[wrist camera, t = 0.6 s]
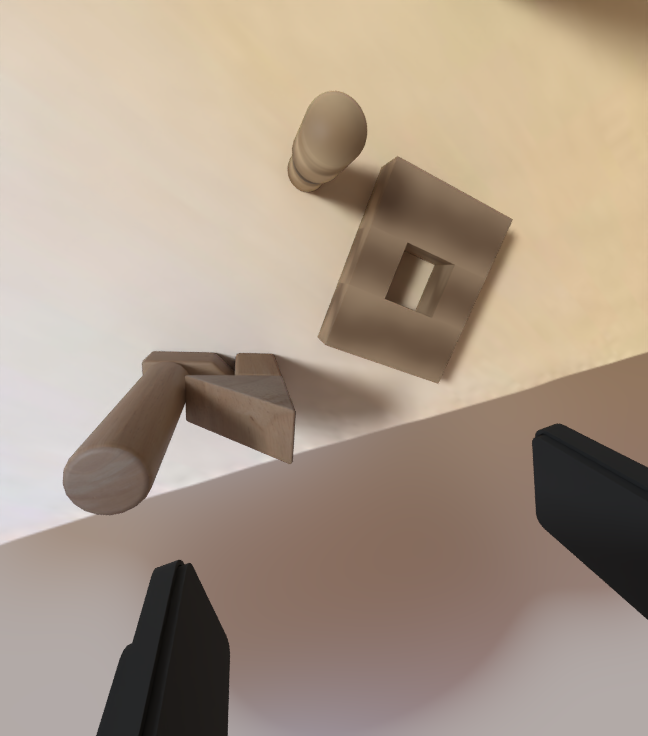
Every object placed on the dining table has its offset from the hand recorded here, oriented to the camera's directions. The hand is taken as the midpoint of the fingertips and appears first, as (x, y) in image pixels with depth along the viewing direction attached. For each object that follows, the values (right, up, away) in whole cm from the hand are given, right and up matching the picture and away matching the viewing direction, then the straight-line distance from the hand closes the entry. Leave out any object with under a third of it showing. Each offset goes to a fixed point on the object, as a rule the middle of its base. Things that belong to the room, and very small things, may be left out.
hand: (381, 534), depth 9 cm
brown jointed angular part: (-12, +4, +24) cm, 27 cm away
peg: (-3, +21, +21) cm, 30 cm away
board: (+6, +13, +26) cm, 29 cm away
